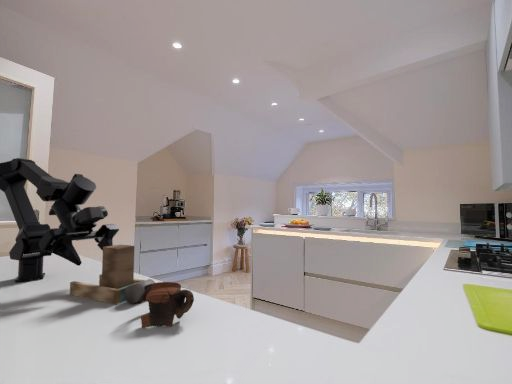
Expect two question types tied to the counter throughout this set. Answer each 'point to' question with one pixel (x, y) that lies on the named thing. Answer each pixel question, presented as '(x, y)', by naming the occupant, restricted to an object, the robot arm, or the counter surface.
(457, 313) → the counter surface
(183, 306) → the pottery mug
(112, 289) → the wooden u-shaped frame
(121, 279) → the tall brown box
